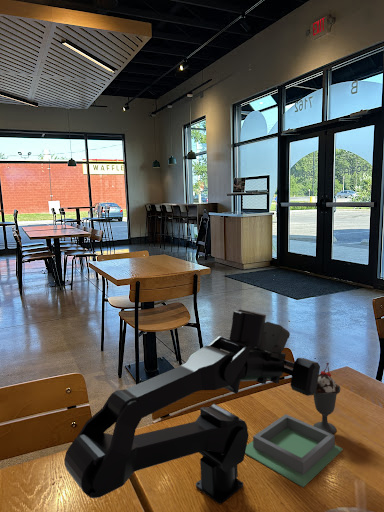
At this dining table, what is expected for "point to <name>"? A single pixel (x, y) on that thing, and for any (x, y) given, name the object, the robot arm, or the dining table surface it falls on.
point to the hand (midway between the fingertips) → (298, 365)
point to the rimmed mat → (293, 449)
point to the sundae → (326, 400)
